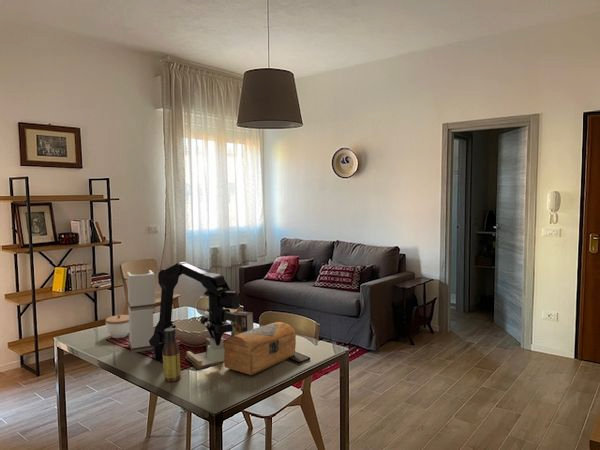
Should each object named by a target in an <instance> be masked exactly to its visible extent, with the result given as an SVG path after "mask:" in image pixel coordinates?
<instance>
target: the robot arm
mask: <svg viewBox="0 0 600 450" xmlns="http://www.w3.org/2000/svg"><path fill="white" fill-rule="evenodd" d="M182 275H185V276H186V277H189V278H191V279H193V280H195V281H197V282H199V283H201V285H202V287H204V288H205V289H206V291H205V292H204V293H203V295H204V296H208V297H207V298H208V308H207V309H206V311H208V312H209V315H206V316H205V315H202V316H201V317H200V324H201V325H204V327H206V328H207V330H208V332H209V334H210V336H211V338H214V340H215V342H216V345H217V346H218V345H220V341H221V338H223V335H224V334H225V333H231V331H233V326H232V325H231V323H229V322H231V321H232V322H235V321H236V317H237V314H234V313H233V312H232V311H231V310H238V309H239V308H240V306H241V300H242V299H241V297H240V295H239V294H238V291H232V290H231V288H230V286H229V285H228V283H227V282H226V279H225V276H224V275H222V274H220V273H215V272H207V271H204V270H203V269H201V268H198V267H196V266H194V265H192V264H190V263H188V262H187V261H181V262H179V261H178V262H176V263H175V264H173V265H172V266H170V267H167V268H164V269H161V270H160V271H158V274H157V280H158V285H159V286H160V288H161V293H160V305H159V320H158V322H157V324H156V326H155V327H154V335H153V336H152V337H151V339H150V340H149V343H150V345H151V346H153V350H152V353H153V354H152V355H151V356H152V358H153V359H154V360H155V361H159V360H160V361H161V360H163V348H164V344H165V334H164V330H165V329H167V328H175V329H176V328H177V326H176V324H173V322H172V316H173V315H172V314H173V304H174V303H173V302H174V290H175V288H176V286H177V284H178V283H179V278H180V276H182ZM205 322H207V326H205ZM206 328H205V329H206ZM175 335H176V332H175Z"/></svg>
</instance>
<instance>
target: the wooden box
mask: <svg viewBox="0 0 600 450" xmlns="http://www.w3.org/2000/svg"><path fill="white" fill-rule="evenodd" d="M296 335H297V334H296V331H295V329H294V328H293V327H292V325H291V324H288V323H286V322H282V321H275V322H272V323H268V324H266V325H262V326H258V327H256V328H253V329H251V330H249V331H246V332H243V333H240V334H238V335H235V336H231V335H230V336H229V337H227V338H226V339H225V340H224V341H223V348H224V349H225V355H224V363H223V365H224V368H227V369H230V370H233V371H237V372H240V373H242V374H247V375H249V376H254V375H256V374H257V373H260V372H262V371H264V370H266V369H268V368H270V367H272V366H274V365H275V366H276V365H277V364H279V363H281V362H283V361H285V360H288V359H290V358H291V357H290V356H292V355H293V354H296V346H297V345H296V343H297V341H296V340H297V339H296V337H297V336H296ZM289 357H290V358H289ZM292 357H293V356H292Z"/></svg>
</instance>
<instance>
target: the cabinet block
mask: <svg viewBox="0 0 600 450" xmlns="http://www.w3.org/2000/svg"><path fill="white" fill-rule="evenodd" d="M224 341H225V340H224V338H223V337H222V338H221V341H220V345H218V346H217V345H216V342H215V340H214V338H211V339H210V346H208V347H207V359H209V360H210V361H211V362H212V363H214V362H222V361H224V355H225V349H224V348H223V344H224Z"/></svg>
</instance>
